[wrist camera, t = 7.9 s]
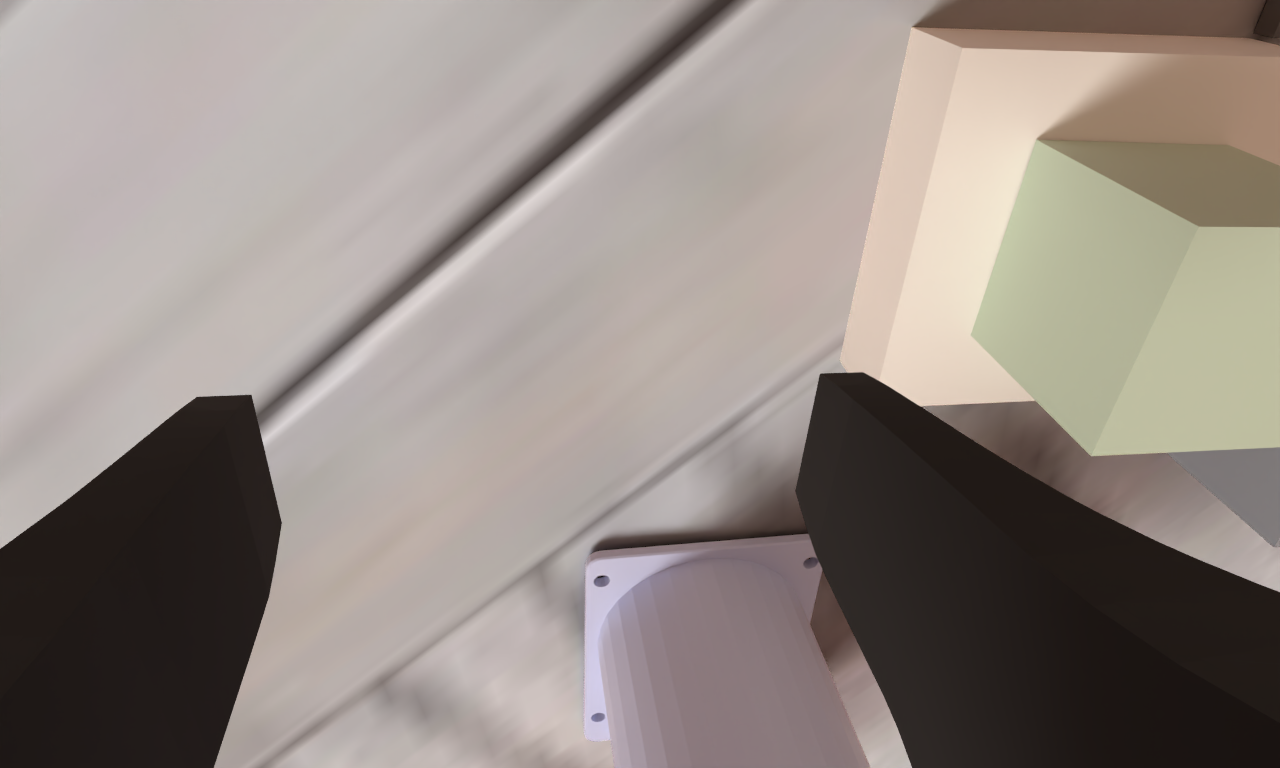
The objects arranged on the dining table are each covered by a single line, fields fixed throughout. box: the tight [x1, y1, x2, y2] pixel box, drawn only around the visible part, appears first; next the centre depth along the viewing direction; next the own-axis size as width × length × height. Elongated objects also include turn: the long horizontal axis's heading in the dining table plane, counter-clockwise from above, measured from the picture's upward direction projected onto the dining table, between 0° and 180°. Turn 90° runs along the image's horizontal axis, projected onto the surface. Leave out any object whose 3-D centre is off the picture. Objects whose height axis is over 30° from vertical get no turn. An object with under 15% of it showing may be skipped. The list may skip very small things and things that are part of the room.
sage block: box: [971, 140, 1280, 456], centre depth 18 cm, size 5×5×5 cm
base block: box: [840, 27, 1280, 406], centre depth 21 cm, size 9×9×3 cm
